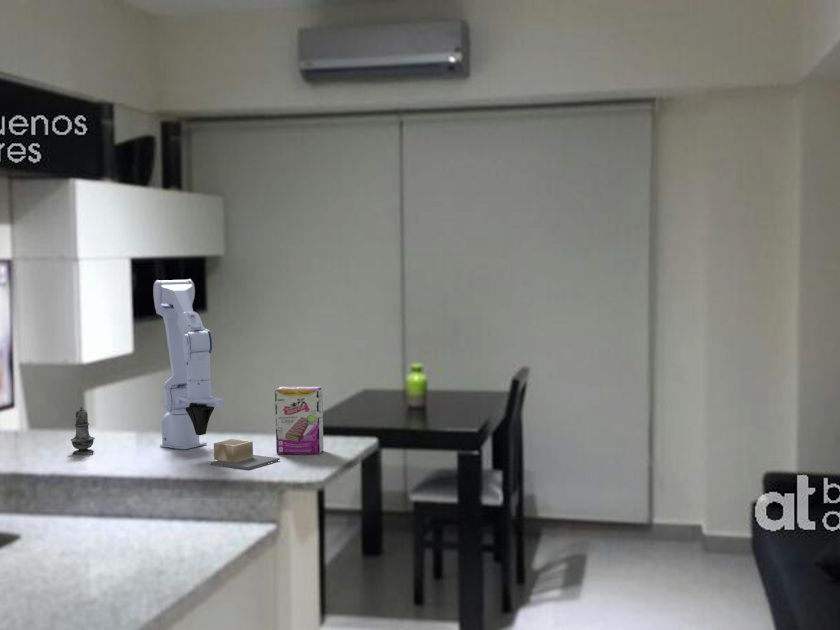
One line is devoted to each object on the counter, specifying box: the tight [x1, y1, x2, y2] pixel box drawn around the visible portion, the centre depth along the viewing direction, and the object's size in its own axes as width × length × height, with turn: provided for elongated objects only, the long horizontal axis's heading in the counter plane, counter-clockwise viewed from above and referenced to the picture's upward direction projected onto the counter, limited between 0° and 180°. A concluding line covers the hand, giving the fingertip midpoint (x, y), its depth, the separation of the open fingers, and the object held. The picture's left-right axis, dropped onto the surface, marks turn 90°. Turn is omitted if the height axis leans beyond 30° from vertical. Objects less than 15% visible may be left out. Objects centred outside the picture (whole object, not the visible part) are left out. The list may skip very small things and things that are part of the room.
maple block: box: [213, 438, 254, 463], centre depth 227 cm, size 4×6×7 cm
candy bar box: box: [274, 386, 324, 455], centre depth 235 cm, size 11×5×16 cm, turn 84°
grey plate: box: [209, 454, 281, 471], centre depth 225 cm, size 12×11×1 cm
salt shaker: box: [70, 406, 96, 456], centre depth 242 cm, size 6×6×12 cm
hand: (200, 434), depth 233 cm, fingers closed
